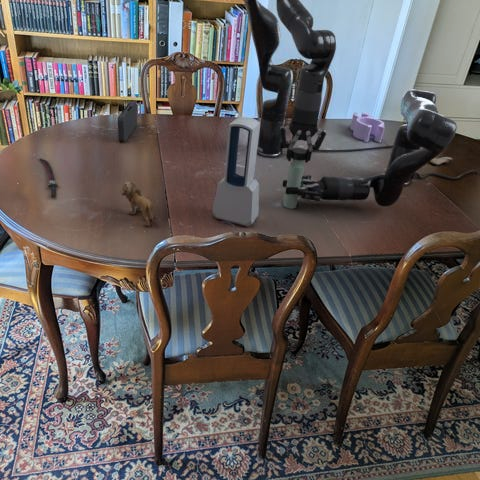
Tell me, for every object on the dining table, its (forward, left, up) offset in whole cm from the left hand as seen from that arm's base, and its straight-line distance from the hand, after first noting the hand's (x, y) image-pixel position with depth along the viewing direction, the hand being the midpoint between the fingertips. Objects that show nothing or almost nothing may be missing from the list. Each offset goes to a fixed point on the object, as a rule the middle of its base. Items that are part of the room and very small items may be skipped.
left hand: (297, 160), depth 142 cm
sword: (+63, -48, -16) cm, 81 cm away
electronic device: (+21, 0, -16) cm, 26 cm away
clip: (-76, -39, -16) cm, 87 cm away
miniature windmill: (-48, -61, -16) cm, 79 cm away
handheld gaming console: (+23, -77, -16) cm, 82 cm away
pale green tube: (0, 0, -16) cm, 16 cm away
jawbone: (-84, -9, -16) cm, 86 cm away
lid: (0, 0, +3) cm, 3 cm away
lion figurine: (+46, -13, -16) cm, 51 cm away
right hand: (+3, -1, -9) cm, 9 cm away
